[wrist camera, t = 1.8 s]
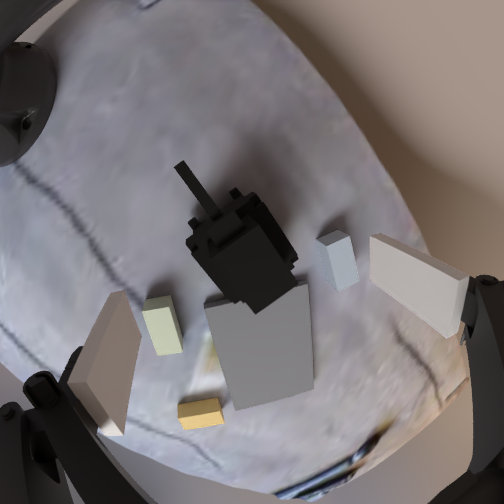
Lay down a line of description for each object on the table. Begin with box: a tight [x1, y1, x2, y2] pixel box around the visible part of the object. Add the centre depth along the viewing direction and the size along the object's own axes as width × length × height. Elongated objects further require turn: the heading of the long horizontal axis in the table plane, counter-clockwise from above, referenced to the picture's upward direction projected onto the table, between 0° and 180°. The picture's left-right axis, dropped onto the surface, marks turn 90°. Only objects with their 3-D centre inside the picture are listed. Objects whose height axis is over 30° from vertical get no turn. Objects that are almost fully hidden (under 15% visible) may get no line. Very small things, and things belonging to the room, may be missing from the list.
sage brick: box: [142, 295, 183, 356], centre depth 30 cm, size 6×3×3 cm, turn 7°
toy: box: [174, 160, 299, 315], centre depth 25 cm, size 8×14×10 cm, turn 34°
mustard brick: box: [178, 397, 225, 430], centre depth 36 cm, size 6×3×3 cm, turn 99°
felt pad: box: [204, 280, 314, 411], centre depth 35 cm, size 18×12×1 cm, turn 9°
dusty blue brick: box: [316, 230, 359, 292], centre depth 32 cm, size 6×3×3 cm, turn 20°
